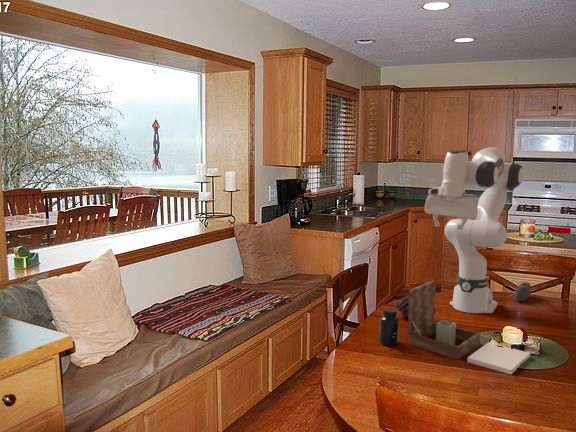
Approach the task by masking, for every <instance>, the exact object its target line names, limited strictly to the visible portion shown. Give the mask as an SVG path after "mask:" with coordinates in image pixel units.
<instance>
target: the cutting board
mask: <svg viewBox="0 0 576 432" xmlns="http://www.w3.org/2000/svg"><path fill="white" fill-rule="evenodd" d="M491 343H492V342H490V341H488V342H486V343H485V344H484V345H483V346H482V347H479V349H477V350H475V351H474V352H473V353H472V354H470V355H469V356H468V357H467V363H470V364H473V365H476V366H480V367H484V368H487V369H490V370H495V371H497V372H501V373H504V374H508V375H509V376H510V375H512V374H513V373H515V371H517V370H518V369H519V368H520V367H521V366H522V365H523V364H524V363H525V362H526V361H527V360H529V358H530V357H531V352H528V351H524V350H521V349H520V350H519V349H516V348H513V349H511V348H512V347H509V348H508V346H505V347H507V348H505V347H503V348H502V347H497V346H494V345H492V344H491ZM524 361H525V362H524ZM523 362H524V363H523ZM522 363H523V364H522ZM521 364H522V365H521ZM520 365H521V366H520ZM519 366H520V367H519ZM518 367H519V368H518ZM517 368H518V369H517Z"/></svg>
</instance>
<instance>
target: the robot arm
mask: <svg viewBox="0 0 576 432" xmlns="http://www.w3.org/2000/svg"><path fill="white" fill-rule="evenodd" d="M468 153H469V152H468V151H466V150H463V149H452V150H449V151H447V153H446V155H445V158H444V163H443V168H442V175H443V178H442V181H441V185H440V186H437V187H433V188H430V189H428V196H427V197H426V200H425V203H424V212H425V214H428V215H432V219H433V222H434V227H438V228H440V226H441V222H440V221H439V220H438V219H439V216H443V217H444V216H447V217H453V218H454V219H450V220H449V221H448V222H447V223H446V224H445V226H444V235H445V237H446V239H447V240H448V241H449V242H450V243H451V244H452V245H453V246H454V248H455V250H456V253H457V257H458V262H459V263H458V266H459V267H458V268H459V269H458V270H459V271H458V275H457V280H456V281H457V285H455V286H454V288H453V295H452V296H453V297H452V300H451V301H450V302H449V305H451V306H452V307H453V308H454V309H455V310H457V311H460V312H463V313H464V312H465V313H469V314H493V313H494V311H495V310H496V308H497V307H498V305H499V304H498V302H497V301H495V300H493V295H494V294H493V291H492V290H491V289H490V287H489V286H488V282H489V281H490V276H487V268H488V267H487V266H488V263H487V262H488V261H487V260H486V258H485V257H484V256H483V254H481V253H480V252H479V251H478V250H477V249H476V247H482V248H500V247H501V246H503V245H504V243H506V240H507V237H508V233H507V229H506V227H505V226H504V225H503V224H502V223H501V222H500V221H499V218H500V216H501V214H502V212H503V210H504V208H505V205H506V202H507V197H508V194H507V193H508V191H510V192H513V191H514V190H515V189H516V188H518V187H519V186H520V185H521V184H522V182H523V180H524V175H525V173H524V168H523V166H522V165H521V164H519V163H515V162H505V161H506V154H505V152H504V151H503V150H502V149H501V148H499V147H496V146H495V147H494V146H492V147H491V146H490V147H485V148H483V149H480V150H478V151H477V152H476V153H475V154H473V157H472V159H471V160H469V154H468ZM466 186H472V187H481V188H486V189H485V191H483V192H482V194H481V195H480V196H479V197H478V195H476V194H475V193H466Z"/></svg>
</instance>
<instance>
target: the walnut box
mask: <svg viewBox="0 0 576 432" xmlns="http://www.w3.org/2000/svg"><path fill="white" fill-rule="evenodd" d="M408 291H409V293H408V296H409V316H408V318H407V320H408V321H407V323H408V324H407V334H408V335H410V341H409V345H410V346H412V347H416V348H419V349H422V350H425V351H428V352H433V353H436V354H439V355H443V356H446V357H450V358H453V359H456V360H460V359H462V357H464V356H465V355H467V354H468V353H469V352H472V350H474V349H476V348H477V347H478V346H479V345H481V335H482V334H481V333H480V332H477V331H473V330H469V329H466V328H461V327H457V326H456V333H455V340H460V341H463V342H462V343H460V344H459V345H456V344H455V345H452V344H448V343H444V342H441V341H437V340H436V339H433V338H429V337H430V336H432V335H434V334H436V323H438V322H439V321H438V322H437V321H435V313H434V309H435V303H436V300H435V299H436V280H433V279H432V280H430V281H428V282H425V283H424V284H421V285H419V286H416V287H414V288H411V289H409V290H408Z"/></svg>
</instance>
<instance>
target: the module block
mask: <svg viewBox="0 0 576 432" xmlns="http://www.w3.org/2000/svg"><path fill="white" fill-rule="evenodd" d="M456 327H457V323H456V322H453V321H449V320H445V319H442V320H439V321H438V323H436V333H435V340H437V341H441V342H444V343H448V344H452V345H455V346H456V339H455V333H456Z"/></svg>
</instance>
